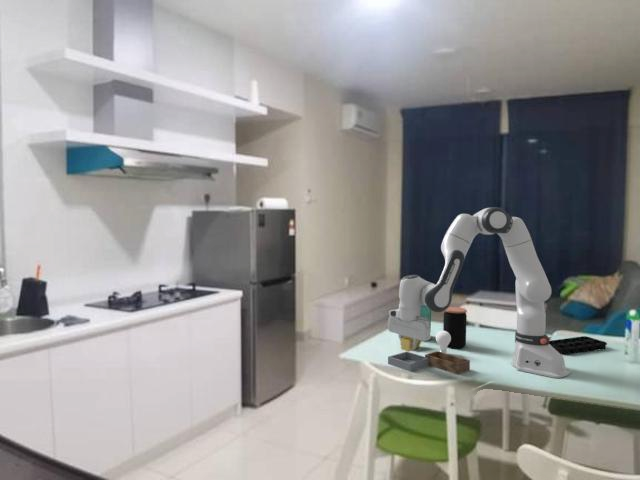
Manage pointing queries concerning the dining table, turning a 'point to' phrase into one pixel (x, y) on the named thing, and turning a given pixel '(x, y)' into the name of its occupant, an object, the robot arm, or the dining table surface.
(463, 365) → the box
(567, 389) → the dining table surface
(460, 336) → the coffee jar
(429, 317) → the milk carton
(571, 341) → the egg carton
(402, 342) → the block
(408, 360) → the tub
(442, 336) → the light bulb
